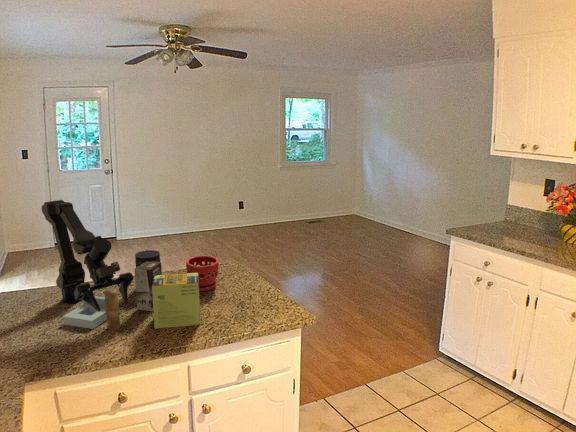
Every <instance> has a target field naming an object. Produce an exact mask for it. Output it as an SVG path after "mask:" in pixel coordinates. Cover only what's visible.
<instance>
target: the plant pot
mask: <svg viewBox="0 0 576 432" xmlns="http://www.w3.org/2000/svg"><path fill="white" fill-rule="evenodd" d="M203 262H204V263H203ZM185 264H186V265H185V267H186V273H198V280H199V292H206V291H210V290H212V289H214V288H215V287H216V286H217V283H218V282H217V278H218V274H219V260H218V258H217V257H215V256H212V255H211V256H210V255H198V256H192V257H189V258H188V259H187V260H186V263H185Z"/></svg>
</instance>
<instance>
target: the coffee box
mask: <svg viewBox="0 0 576 432" xmlns="http://www.w3.org/2000/svg"><path fill="white" fill-rule="evenodd" d="M157 275H163V272H162V262H161V261H160V262H147V261H146V262H145V263H143V264H142V265H140V266H138V267H137V268H136V267H134V280H135V281H134V282H135V297H136V299H135V300H136V310H139V311H148V312H152V311H153V296H152V284H153V281H154V276H157Z"/></svg>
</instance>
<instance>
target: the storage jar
mask: <svg viewBox="0 0 576 432" xmlns="http://www.w3.org/2000/svg"><path fill="white" fill-rule="evenodd" d="M134 257H135V260H134V261H135V262H134V263H135V268H137V267H138V266H140V265H142V264H143V263H145V262H146V261H147V262H161V253H160V251H157V250H154V249H153V250H152V249H151V250H150V249H149V250H141V251H138V252H136V253H135V254H134Z"/></svg>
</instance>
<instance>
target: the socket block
mask: <svg viewBox="0 0 576 432" xmlns="http://www.w3.org/2000/svg"><path fill="white" fill-rule="evenodd" d="M94 297H95V299H96V301H97V303H98V305H99V307H100V312H98V311H97V310H96V309H95V308H94V307H92V306H91V305H90V304H88V303H87V302H85V301H84V300H83V304H81V305H80V306H79V307H76V308H75V309H73V310H71V311H69V312H68V313H66V314H64V315H63V316H62V322H63V325H65V326H71V327H77V328H78V327H79V328H85V329H91V330H94V329H95V328H97V327H99V326H100V325H102V324H103V323H104V322H107V315H106V304H105V296H100V295H99V296H97V295H94Z"/></svg>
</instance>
